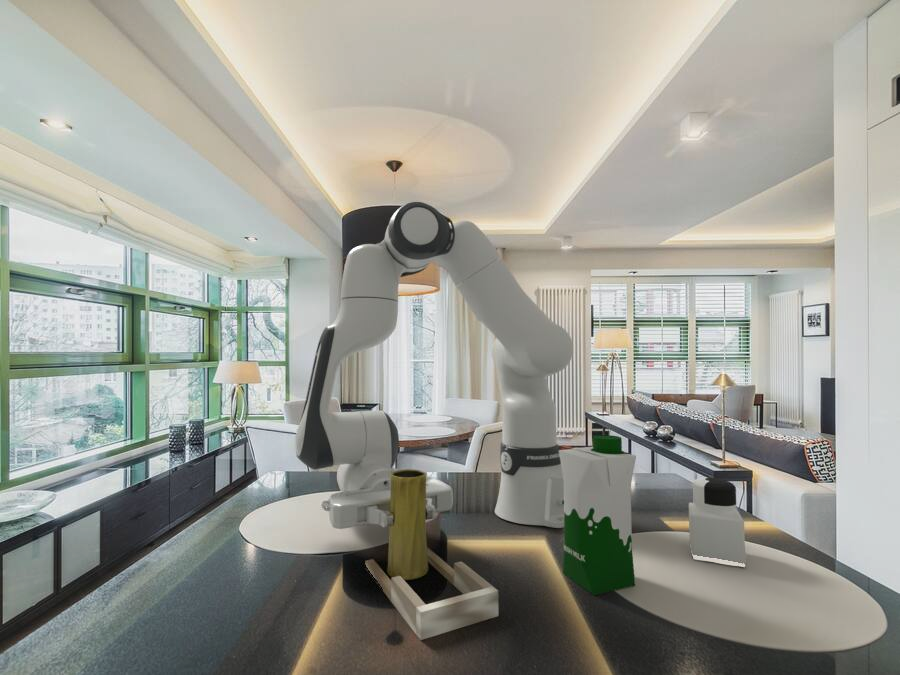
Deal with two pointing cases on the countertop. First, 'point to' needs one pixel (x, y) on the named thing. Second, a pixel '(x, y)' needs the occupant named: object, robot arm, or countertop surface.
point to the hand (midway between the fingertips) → (410, 517)
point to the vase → (408, 525)
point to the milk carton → (598, 515)
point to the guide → (446, 613)
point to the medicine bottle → (716, 521)
